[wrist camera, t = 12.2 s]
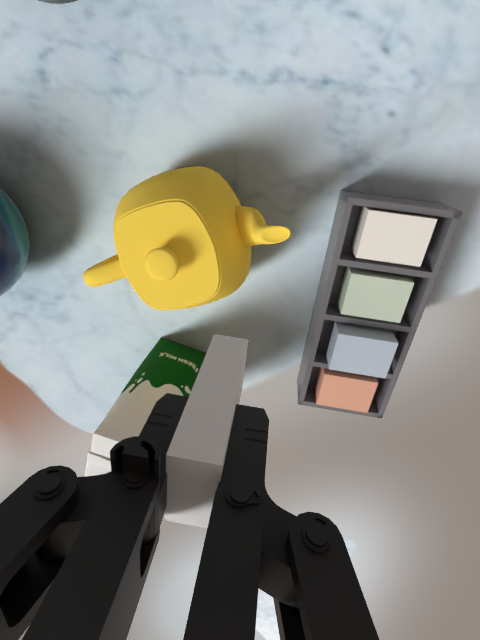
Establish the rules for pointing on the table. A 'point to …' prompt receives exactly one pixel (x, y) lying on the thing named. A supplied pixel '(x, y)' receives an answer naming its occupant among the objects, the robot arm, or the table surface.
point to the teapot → (183, 239)
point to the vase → (12, 243)
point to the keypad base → (343, 257)
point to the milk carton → (143, 398)
